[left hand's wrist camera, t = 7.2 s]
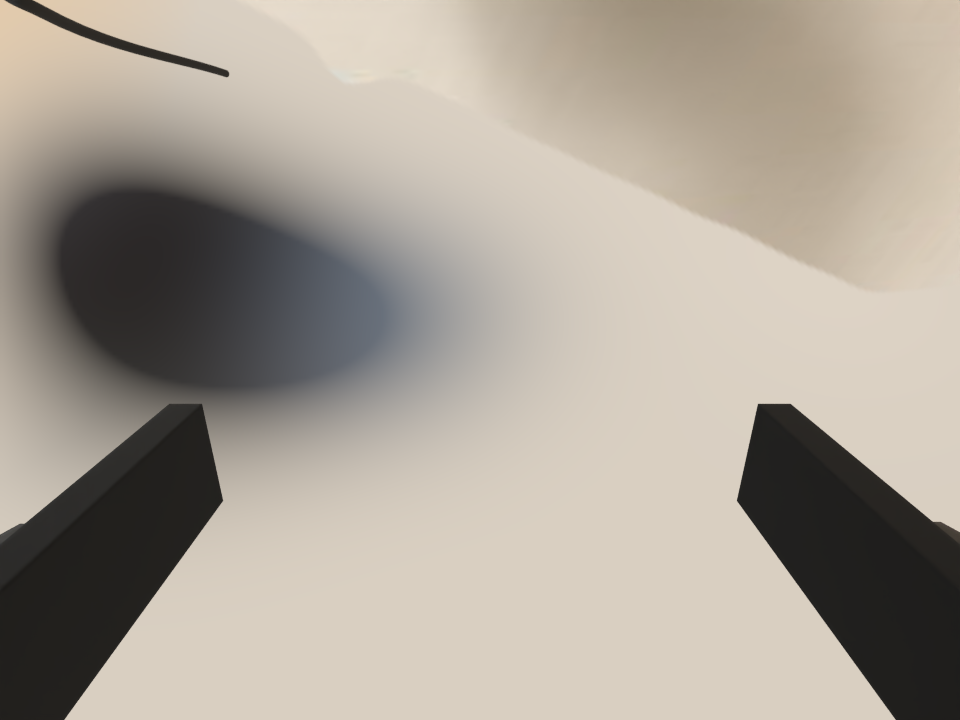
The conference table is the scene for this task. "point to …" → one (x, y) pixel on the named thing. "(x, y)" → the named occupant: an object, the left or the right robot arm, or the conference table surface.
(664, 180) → the conference table surface
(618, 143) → the conference table surface
